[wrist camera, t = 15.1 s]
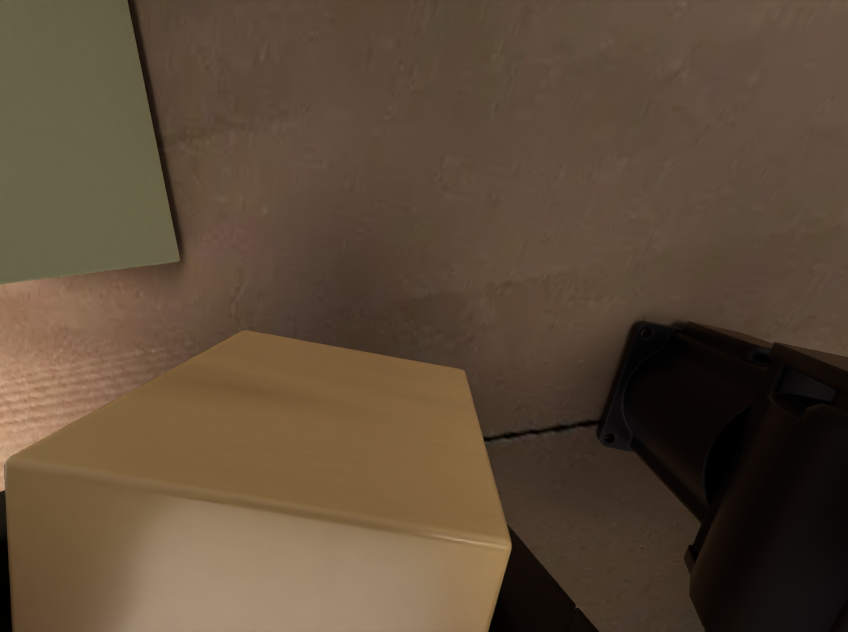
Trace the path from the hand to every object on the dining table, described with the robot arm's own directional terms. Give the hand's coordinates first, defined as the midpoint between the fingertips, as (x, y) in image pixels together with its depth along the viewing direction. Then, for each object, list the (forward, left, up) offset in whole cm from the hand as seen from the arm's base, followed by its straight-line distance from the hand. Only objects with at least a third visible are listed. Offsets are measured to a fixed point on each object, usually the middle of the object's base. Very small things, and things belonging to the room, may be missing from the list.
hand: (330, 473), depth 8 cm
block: (0, 0, -1) cm, 1 cm away
